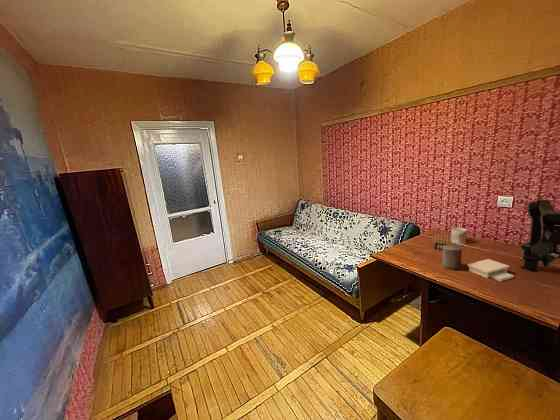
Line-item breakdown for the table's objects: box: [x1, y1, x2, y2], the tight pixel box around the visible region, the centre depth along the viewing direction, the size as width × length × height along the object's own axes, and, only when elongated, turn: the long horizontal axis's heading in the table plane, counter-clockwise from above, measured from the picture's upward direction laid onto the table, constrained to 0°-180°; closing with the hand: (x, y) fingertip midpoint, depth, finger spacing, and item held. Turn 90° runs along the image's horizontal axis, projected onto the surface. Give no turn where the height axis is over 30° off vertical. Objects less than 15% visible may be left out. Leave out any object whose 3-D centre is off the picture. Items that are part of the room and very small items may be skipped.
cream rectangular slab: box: [467, 258, 510, 279], centre depth 137 cm, size 17×11×4 cm, turn 105°
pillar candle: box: [442, 244, 463, 271], centre depth 146 cm, size 10×10×15 cm
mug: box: [450, 227, 468, 245], centre depth 184 cm, size 10×12×11 cm
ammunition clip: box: [433, 234, 453, 251], centre depth 173 cm, size 11×2×12 cm, turn 55°
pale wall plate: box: [489, 270, 515, 283], centre depth 134 cm, size 10×14×2 cm
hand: (545, 266), depth 116 cm, fingers closed
